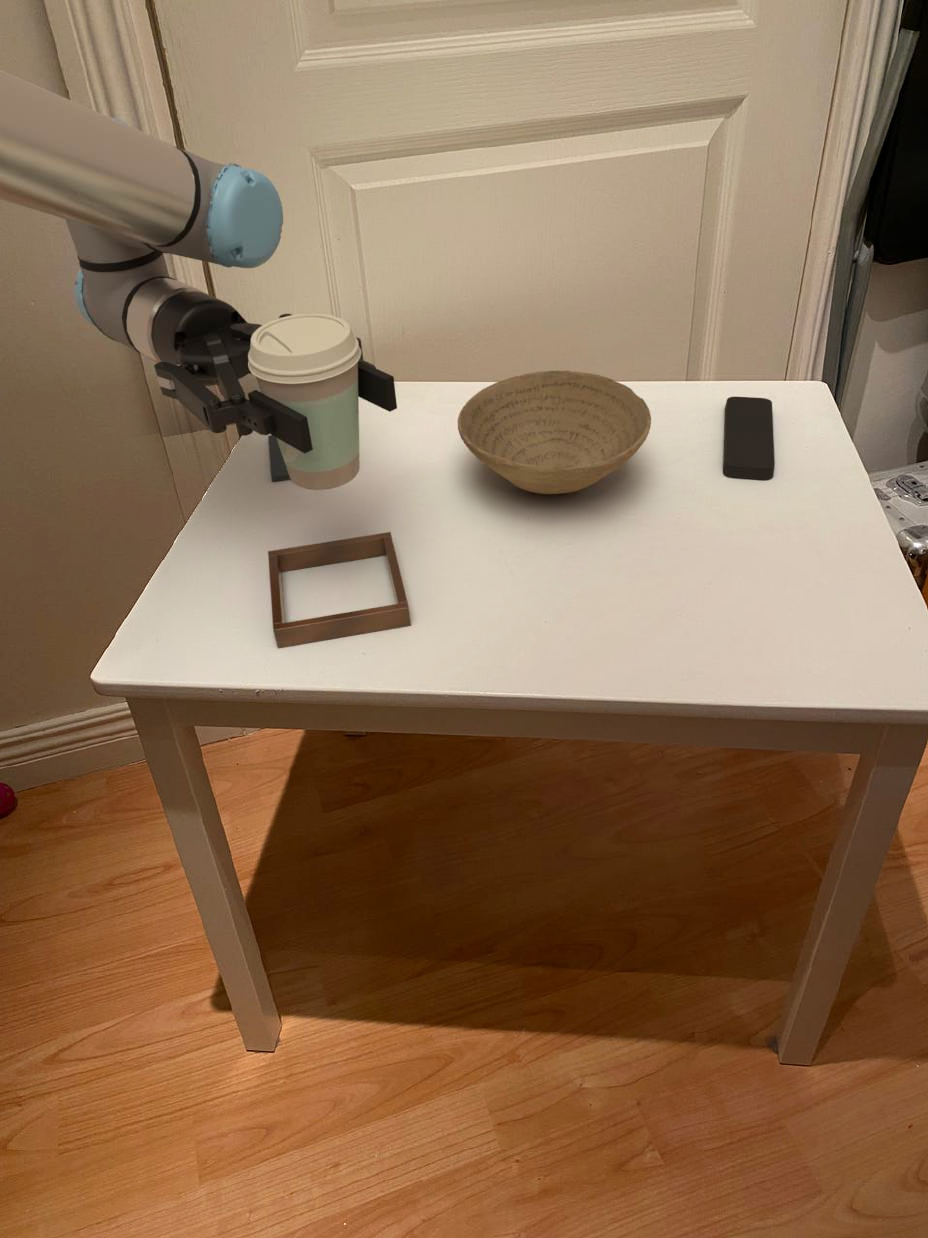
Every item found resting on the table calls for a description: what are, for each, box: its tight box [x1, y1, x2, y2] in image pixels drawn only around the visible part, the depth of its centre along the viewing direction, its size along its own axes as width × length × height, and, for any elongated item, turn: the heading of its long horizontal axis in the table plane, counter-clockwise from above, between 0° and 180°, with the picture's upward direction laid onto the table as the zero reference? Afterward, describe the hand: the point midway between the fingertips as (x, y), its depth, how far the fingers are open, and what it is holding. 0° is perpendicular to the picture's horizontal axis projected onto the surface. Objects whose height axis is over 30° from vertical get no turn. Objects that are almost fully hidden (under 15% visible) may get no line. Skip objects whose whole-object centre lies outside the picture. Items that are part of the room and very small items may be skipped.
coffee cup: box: [248, 312, 361, 491], centre depth 74 cm, size 8×8×12 cm
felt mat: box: [267, 434, 291, 482], centre depth 102 cm, size 9×9×1 cm
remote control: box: [722, 396, 776, 481], centre depth 98 cm, size 5×2×15 cm
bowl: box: [457, 370, 652, 495], centre depth 92 cm, size 18×18×8 cm
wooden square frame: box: [267, 531, 412, 649], centre depth 82 cm, size 11×11×2 cm
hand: (349, 414), depth 70 cm, fingers closed on coffee cup, 8 cm apart
